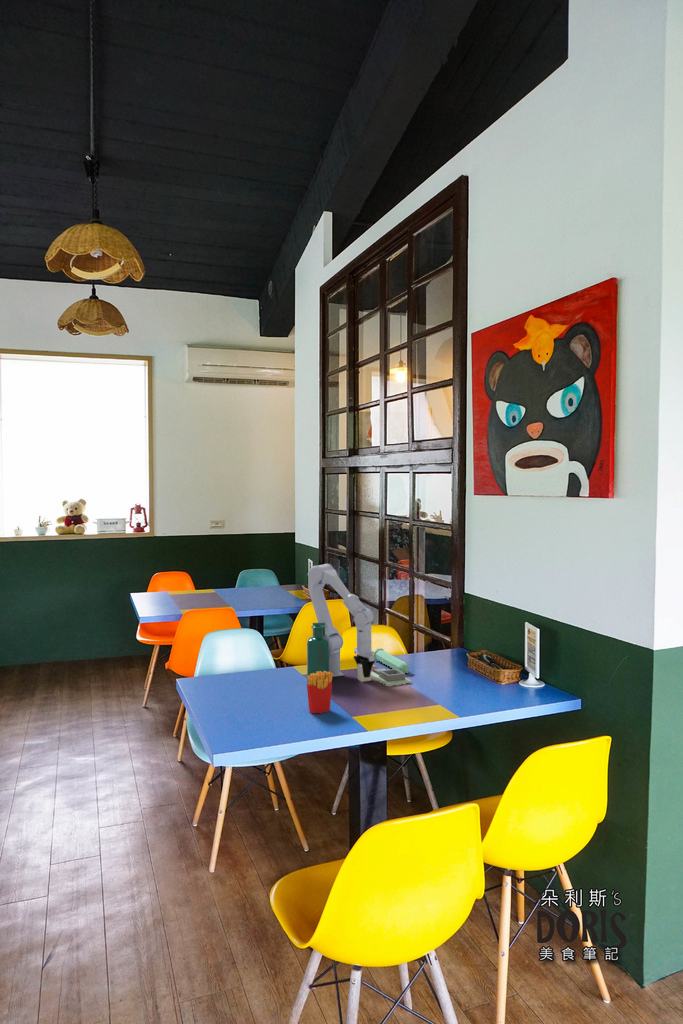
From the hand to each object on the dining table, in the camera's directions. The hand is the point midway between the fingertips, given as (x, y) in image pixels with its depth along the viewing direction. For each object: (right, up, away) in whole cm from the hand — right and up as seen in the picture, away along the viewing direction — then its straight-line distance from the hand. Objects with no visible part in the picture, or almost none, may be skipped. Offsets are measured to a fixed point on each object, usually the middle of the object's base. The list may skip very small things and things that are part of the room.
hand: (364, 675), depth 266 cm
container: (+12, -1, +18) cm, 22 cm away
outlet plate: (+9, -2, +1) cm, 10 cm away
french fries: (-16, -3, -37) cm, 40 cm away
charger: (0, -2, 0) cm, 2 cm away
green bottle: (-18, -2, -2) cm, 18 cm away
